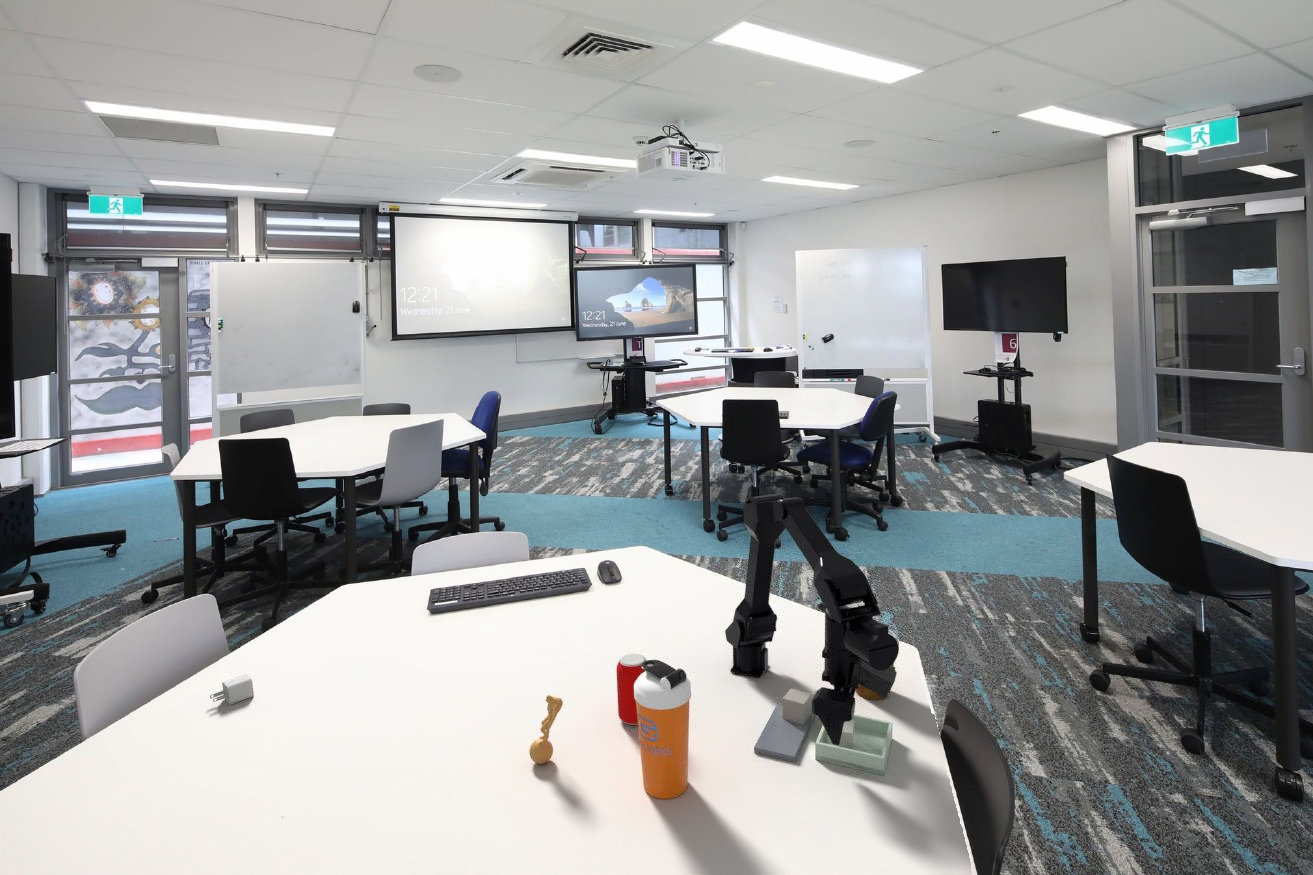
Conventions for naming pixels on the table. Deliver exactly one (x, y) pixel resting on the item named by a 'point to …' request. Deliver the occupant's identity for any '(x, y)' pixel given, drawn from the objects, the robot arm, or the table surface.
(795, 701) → the grey stone cube
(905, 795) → the table surface
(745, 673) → the robot arm
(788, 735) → the slate board
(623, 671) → the beverage can
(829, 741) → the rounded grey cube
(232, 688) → the usb wall charger
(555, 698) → the figurine
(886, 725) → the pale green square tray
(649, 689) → the shaker bottle
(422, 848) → the table surface
